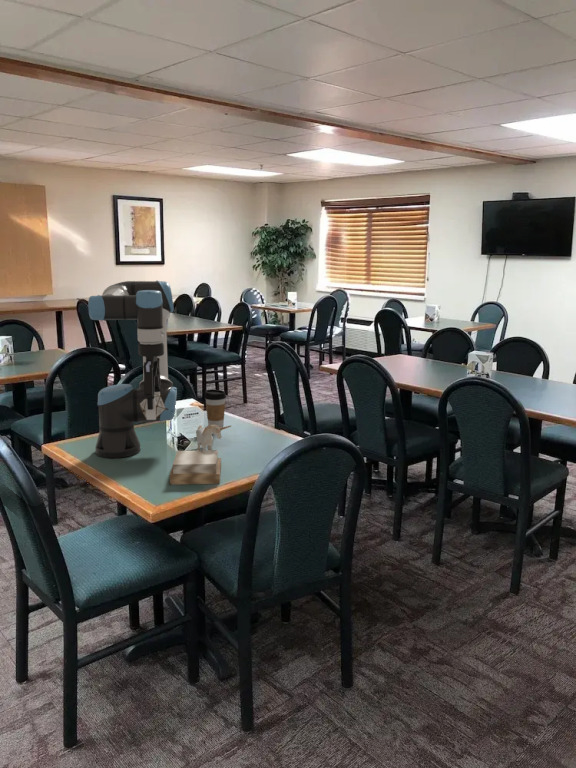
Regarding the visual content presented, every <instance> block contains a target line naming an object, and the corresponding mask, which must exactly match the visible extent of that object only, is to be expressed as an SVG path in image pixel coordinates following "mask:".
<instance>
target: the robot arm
mask: <svg viewBox="0 0 576 768" xmlns="http://www.w3.org/2000/svg"><path fill="white" fill-rule="evenodd" d="M173 300H174V299H173V294H172V288H171V285H170V283H169V282H167V281H163V280H162V281H160V280H155V281H152V280H151V281H149V280H147V281H146V280H142V281H141V280H138V281H137V280H136V281H135V280H133V281H132V280H131V281H130V280H127V281H121V282H117V283H114V284H111V285H110V286H108V287H106V288H105V289H104V290H103V292H102V293H101V295H100V294H97V295H91V296H89V298H88V301H87V303H88V304H87V305H88V306H87V307H88V315H89V319H90V320H92V321H101V322H102V321H117V320H118V321H119V320H121V321H122V320H124V321H125V320H126V321H128V320H131V321H132V320H133V321H134V320H135V321H136V322H137V341H138V342H139V343H138V344H137V346H138V348H137V349H138V350H137V351H138V356H140V357H142V365H143V366H142V367H143V369H142V371H143V374H142V376H143V379H142V380H140V382H139V383H138V384H139V385H138V388H133V385H132V384H129V383H120V384H113V385H109V386H106V387H103V388H102V389H100V390H99V392H98V394H97V403H96V405H97V408H98V423H99V424H98V425H99V434H98V437H97V441H96V443H95V454H96V456H98V457H101V458H105V459H106V458H107V459H119V458H127V457H130V456H134V455H137V454H139V452H140V451H141V443H140V440H139V438H138V436H137V433H136V431H135V423H144V422H145V423H146V422H166V421H171V420H173V419H174V418H175V415H174V414H175V413H176V408H175V405H176V404H177V394H178V390H177V389H178V388H177V387H175V386H173V381H171V380H170V379H169V369H168V368H169V367H168V340H167V339H168V338H167V320H169V318H170V317H171V314H172V313H173V312H174V309H175V308H174V306H175V305H174V301H173ZM161 394H162V396H161V398H162V400H163V402H164V405H165V407H166V408H168V409H169V410H165V411H164V412H162V413H161V414H160V417H157V418H156V405H155V398H154V397H155V396H154V395H158V396H160V395H161ZM144 399H146V417H145V419H143V417H144V414H143V413H142V410H141V407H140V405H138V404H137V403H141V402H142V401H143V400H144ZM176 406H177V405H176ZM173 417H174V418H173ZM156 419H157V420H156Z"/></svg>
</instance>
